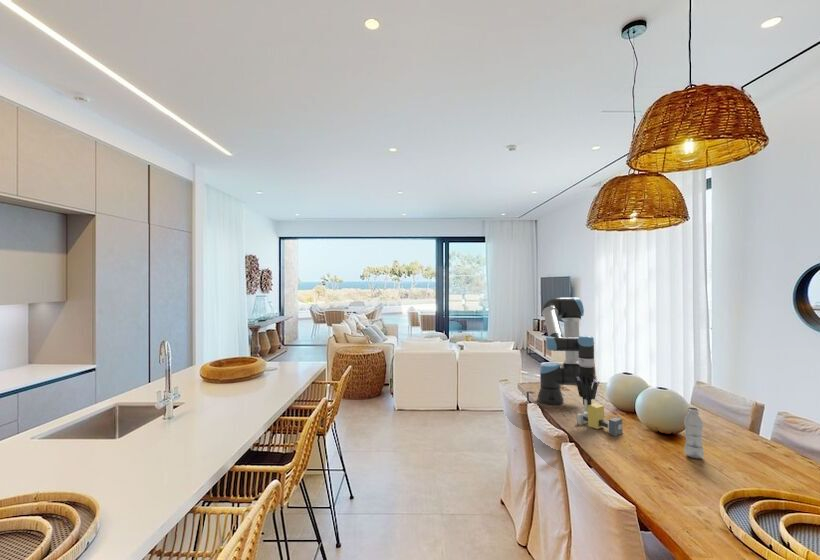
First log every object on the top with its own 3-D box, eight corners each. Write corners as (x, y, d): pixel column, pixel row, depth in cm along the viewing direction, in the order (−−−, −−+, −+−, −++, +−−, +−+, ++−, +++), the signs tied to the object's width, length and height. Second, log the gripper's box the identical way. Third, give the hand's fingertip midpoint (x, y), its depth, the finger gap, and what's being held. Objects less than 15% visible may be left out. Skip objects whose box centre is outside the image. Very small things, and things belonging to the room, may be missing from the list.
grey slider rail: (585, 421, 201) (585, 407, 201) (624, 433, 183) (624, 419, 183) (577, 423, 197) (576, 410, 197) (616, 437, 180) (615, 422, 180)
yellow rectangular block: (595, 423, 196) (594, 403, 196) (604, 426, 191) (604, 405, 192) (588, 425, 192) (587, 405, 193) (597, 429, 188) (596, 407, 188)
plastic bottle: (700, 454, 160) (699, 407, 160) (706, 461, 154) (705, 412, 154) (682, 452, 162) (681, 405, 162) (688, 459, 156) (686, 410, 156)
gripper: (570, 364, 200) (571, 409, 200) (593, 369, 189) (594, 416, 188) (579, 363, 204) (580, 407, 203) (602, 367, 193) (603, 414, 192)
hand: (587, 411), depth 196 cm, fingers closed
